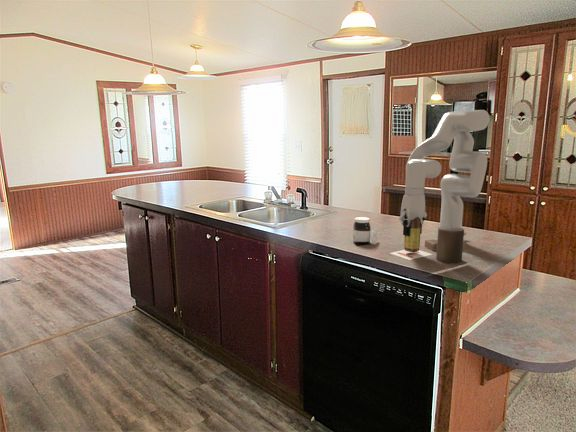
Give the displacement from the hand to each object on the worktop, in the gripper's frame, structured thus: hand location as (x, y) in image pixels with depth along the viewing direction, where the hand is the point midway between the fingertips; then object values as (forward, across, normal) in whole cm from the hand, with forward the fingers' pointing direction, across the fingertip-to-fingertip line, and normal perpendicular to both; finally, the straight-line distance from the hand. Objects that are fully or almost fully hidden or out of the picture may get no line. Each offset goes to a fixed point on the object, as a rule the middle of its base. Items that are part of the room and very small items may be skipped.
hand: (412, 234), depth 173 cm
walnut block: (+10, -15, 0) cm, 18 cm away
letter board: (+9, 0, 0) cm, 9 cm away
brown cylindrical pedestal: (+9, -6, +14) cm, 18 cm away
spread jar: (+10, +3, -24) cm, 27 cm away
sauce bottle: (+7, 0, 0) cm, 7 cm away
